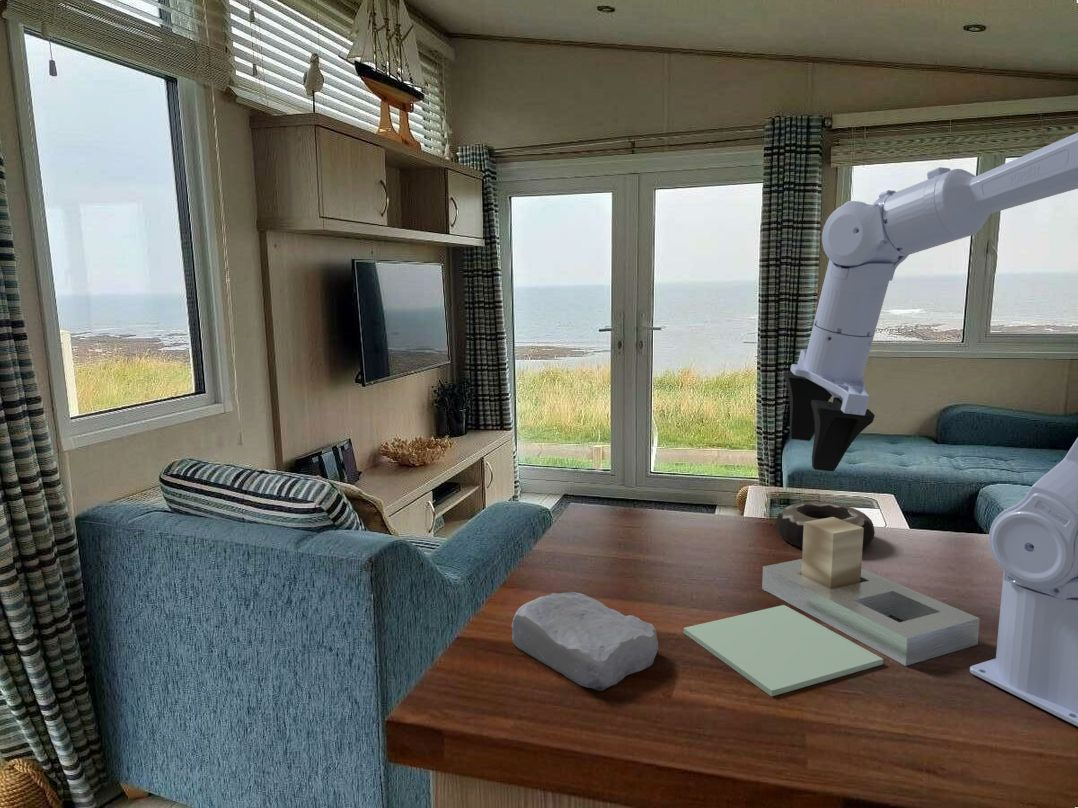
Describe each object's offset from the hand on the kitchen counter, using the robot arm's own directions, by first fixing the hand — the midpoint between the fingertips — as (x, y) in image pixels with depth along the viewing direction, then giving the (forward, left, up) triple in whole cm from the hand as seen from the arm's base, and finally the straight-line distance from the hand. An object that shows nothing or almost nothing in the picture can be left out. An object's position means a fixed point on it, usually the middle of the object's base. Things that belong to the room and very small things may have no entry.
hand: (810, 453), depth 77 cm
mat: (-10, +12, -15) cm, 22 cm away
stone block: (-3, +28, -15) cm, 32 cm away
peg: (-4, 0, -15) cm, 15 cm away
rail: (-8, 0, -15) cm, 17 cm away
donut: (+10, -13, -15) cm, 22 cm away
